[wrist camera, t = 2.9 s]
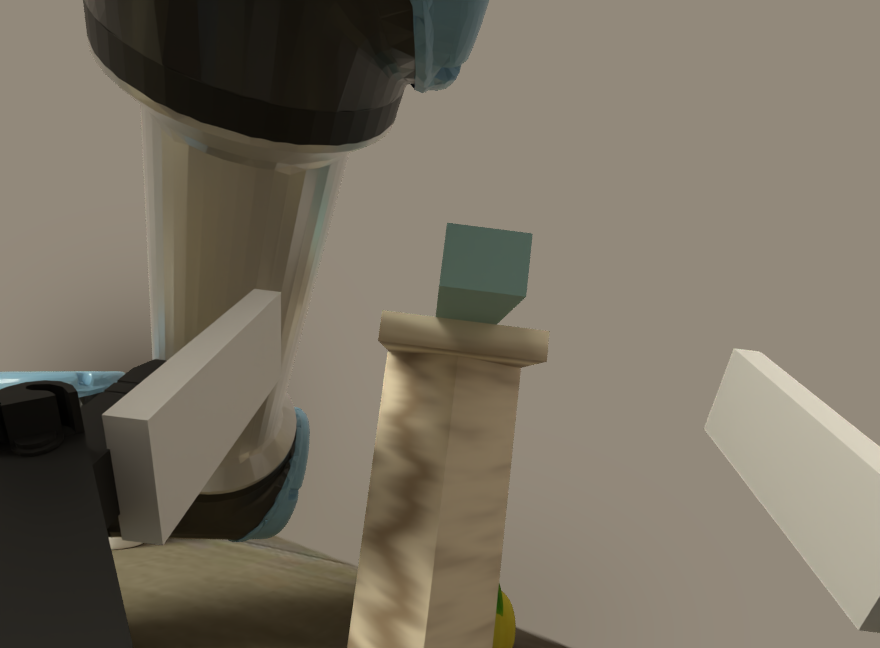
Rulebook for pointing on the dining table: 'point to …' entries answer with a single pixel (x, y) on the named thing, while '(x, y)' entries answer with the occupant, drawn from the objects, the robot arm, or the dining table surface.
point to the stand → (439, 482)
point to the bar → (482, 273)
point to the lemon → (504, 622)
